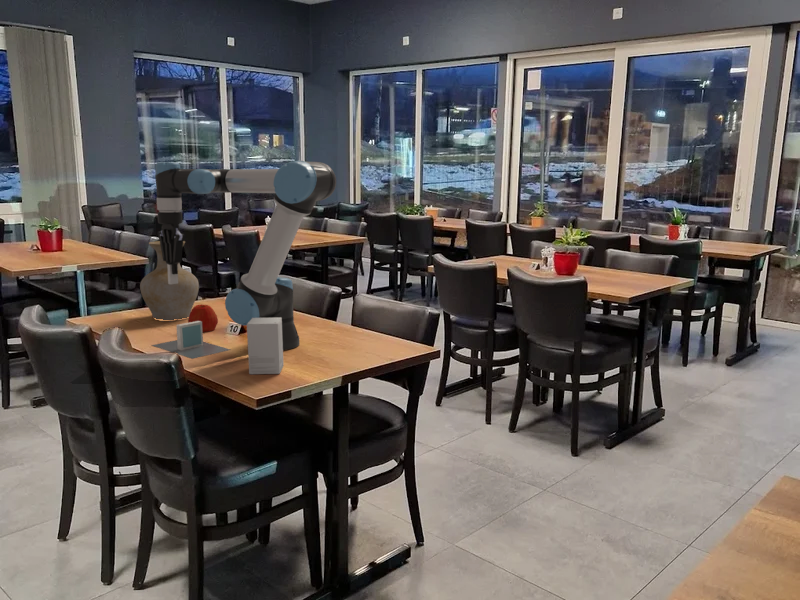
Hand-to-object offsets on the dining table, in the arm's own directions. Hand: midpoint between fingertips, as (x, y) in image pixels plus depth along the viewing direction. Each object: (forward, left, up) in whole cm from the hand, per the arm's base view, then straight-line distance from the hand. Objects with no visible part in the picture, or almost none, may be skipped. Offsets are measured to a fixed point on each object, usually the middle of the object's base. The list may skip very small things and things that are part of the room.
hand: (173, 283), depth 218 cm
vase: (+40, -22, -21) cm, 51 cm away
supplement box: (-45, -2, -21) cm, 49 cm away
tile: (-10, +1, -20) cm, 22 cm away
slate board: (-10, +1, -21) cm, 23 cm away
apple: (+9, -16, -21) cm, 28 cm away
